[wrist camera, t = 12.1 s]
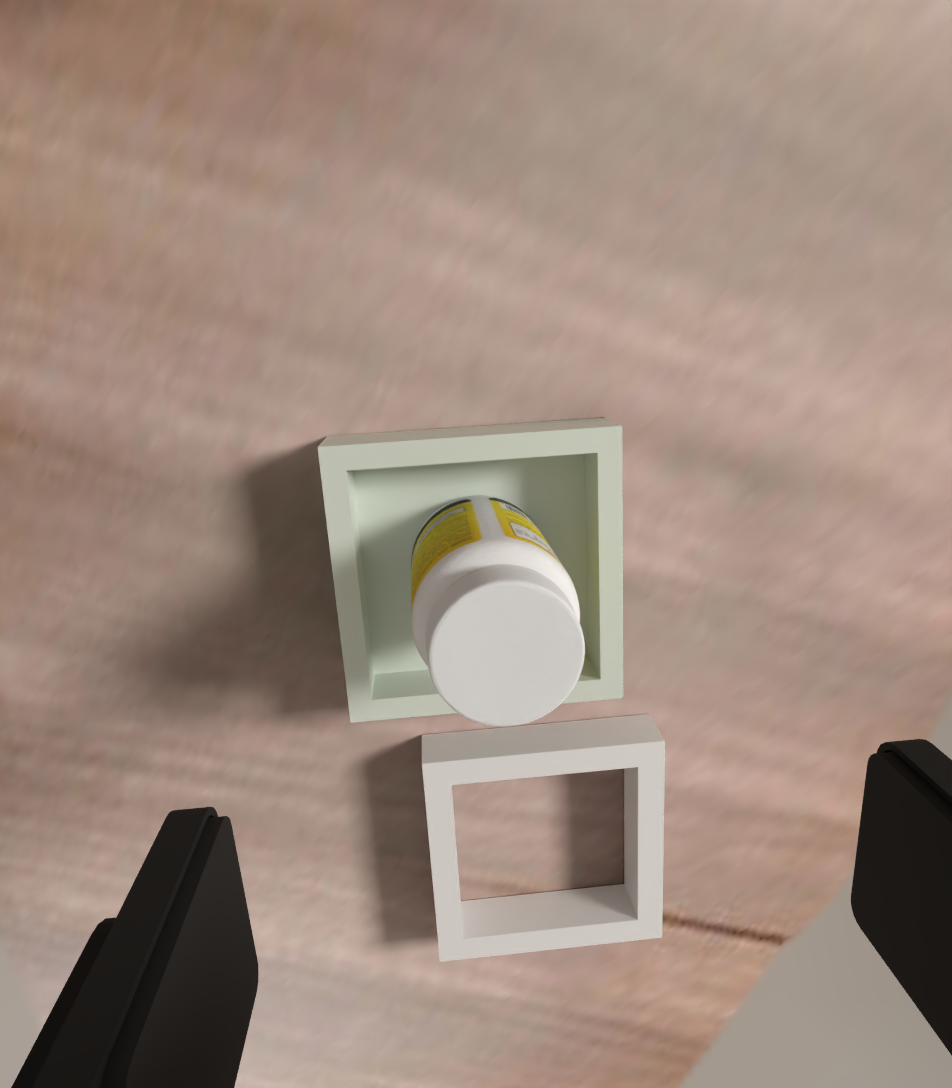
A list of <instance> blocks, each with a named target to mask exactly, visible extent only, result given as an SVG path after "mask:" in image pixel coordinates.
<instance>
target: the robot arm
mask: <svg viewBox="0 0 952 1088" xmlns="http://www.w3.org/2000/svg"><path fill="white" fill-rule="evenodd" d="M851 905H852V910H853V914H854V917H855V919H856V921H857V923H858V925H859V926H860V928H861V930H862V931H863V932H864V934H865V935H866V937H867V938H868V939H869V941H870V942H871V943H872V945H873V946H874V947H875V949H876V950H877V952H878V953H879V954H880V956H881V957H882V959H883V960H884V961H885V963H886V964H887V966H888V967H889V968H890V970H891V971H892V973H893V974H894V976H895V977H896V978H897V980H898V981H899V982H900V984H901V985H902V987H903V988H904V989H905V991H906V992H907V993H908V995H909V996H910V998H911V999H912V1001H913V1002H914V1003H915V1005H916V1006H917V1008H918V1009H919V1010H920V1011H921V1013H922V1014H923V1016H924V1017H925V1019H926V1020H927V1021H928V1023H929V1024H930V1026H931V1027H932V1028H933V1030H934V1031H935V1032H936V1034H937V1035H938V1037H939V1038H940V1039H941V1041H942V1042H943V1044H944V1045H945V1047H946V1048H947V1049H948V1051H949V1052H950V1053H951V1055H952V760H951V759H950V758H948V757H947V756H946V755H945V754H944V753H942V752H941V751H940V750H939V749H938V748H936V747H935V746H934V745H933V744H932V743H930V742H928V741H927V740H923V739H915V740H905V741H894V742H885V743H883V744H881V745H880V747H879V748H878V750H877V753H876V754H873V755H871V756H870V758H869V760H868V764H867V772H866V780H865V788H864V796H863V804H862V812H861V820H860V828H859V836H858V844H857V852H856V860H855V869H854V877H853V886H852V893H851ZM257 986H258V961H257V956H256V951H255V945H254V940H253V935H252V930H251V924H250V919H249V914H248V909H247V904H246V898H245V893H244V888H243V883H242V877H241V872H240V867H239V862H238V856H237V851H236V846H235V841H234V836H233V830H232V825H231V821H230V819H229V817H227V816H223V817H218V815H217V812H216V810H215V809H214V808H213V807H205V808H194V809H184V810H173V811H171V812H170V813H169V814H168V815H167V817H166V819H165V821H164V823H163V825H162V827H161V829H160V831H159V833H158V835H157V837H156V839H155V841H154V843H153V845H152V847H151V849H150V851H149V853H148V855H147V857H146V859H145V861H144V863H143V865H142V867H141V869H140V871H139V873H138V875H137V877H136V879H135V881H134V883H133V885H132V887H131V889H130V891H129V893H128V895H127V897H126V899H125V901H124V903H123V906H122V908H121V910H120V912H119V914H118V916H117V918H108V919H104V920H103V921H102V922H100V923H99V924H98V925H97V927H96V928H95V930H94V931H93V933H92V934H91V936H90V938H89V940H88V942H87V944H86V946H85V948H84V950H83V952H82V954H81V955H80V957H79V959H78V961H77V963H76V965H75V967H74V969H73V971H72V973H71V975H70V977H69V978H68V980H67V982H66V984H65V986H64V988H63V990H62V992H61V994H60V996H59V998H58V999H57V1001H56V1003H55V1005H54V1007H53V1009H52V1011H51V1013H50V1015H49V1017H48V1019H47V1021H46V1022H45V1024H44V1026H43V1028H42V1030H41V1032H40V1034H39V1036H38V1038H37V1040H36V1042H35V1043H34V1045H33V1047H32V1050H31V1051H30V1053H29V1055H28V1057H27V1059H26V1061H25V1063H24V1065H23V1066H22V1068H21V1070H20V1072H19V1074H18V1076H17V1078H16V1080H15V1082H14V1084H13V1086H12V1087H11V1088H234V1086H235V1082H236V1077H237V1073H238V1069H239V1065H240V1060H241V1056H242V1052H243V1048H244V1044H245V1039H246V1035H247V1031H248V1027H249V1022H250V1018H251V1014H252V1010H253V1005H254V1001H255V997H256V992H257Z"/></svg>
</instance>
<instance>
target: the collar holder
mask: <svg viewBox="0 0 952 1088" xmlns="http://www.w3.org/2000/svg"><path fill="white" fill-rule="evenodd" d="M623 768H624V884H619V885H610V886H600V887H591V888H581V889H572V890H562V891H553V892H543V893H534V894H524V895H515V896H505V897H496V898H486V899H477V900H467V901H461V900H460V887H459V874H458V862H457V849H456V836H455V824H454V811H453V798H452V786H451V785H457V784H467V783H478V782H488V781H498V780H509V779H519V778H530V777H540V776H551V775H561V774H571V773H582V772H592V771H603V770H613V769H623ZM664 769H665V740H664V739H663V737H662V735H661V734H660V732H659V730H658V729H657V727H656V725H655V724H654V722H653V720H652V719H651V717H650V715H649V714H644V715H633V716H622V717H611V718H601V719H590V720H579V721H568V722H557V723H546V724H535V725H524V726H514V727H503V728H492V729H481V730H470V731H459V732H448V733H438V734H427V735H422V770H423V781H424V792H425V803H426V814H427V825H428V836H429V847H430V858H431V869H432V880H433V891H434V902H435V913H436V924H437V935H438V946H439V957H440V962H443V961H452V960H461V959H470V958H479V957H488V956H497V955H507V954H516V953H525V952H534V951H543V950H552V949H561V948H571V947H580V946H589V945H598V944H607V943H616V942H625V941H635V940H644V939H653V938H662V907H663V838H664Z"/></svg>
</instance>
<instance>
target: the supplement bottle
mask: <svg viewBox="0 0 952 1088" xmlns="http://www.w3.org/2000/svg"><path fill="white" fill-rule="evenodd" d="M411 625H412V633H413V637H414V641H415V644H416V647H417V650H418V652H419V654H420V656H421V658H422V659H423V661H424V662H425V664H426V665H427V667H428V668H429V672H430V676H431V679H432V681H433V684H434V686H435V688H436V690H437V691H438V693H439V694H440V696H441V697H442V698H443V700H444V701H445V702H446V703H447V704H448V705H449V706H450V707H451V708H452V709H453V710H455V711H456V712H457V713H459V714H460V715H462V716H464V717H466V718H467V719H470V720H472V721H475V722H477V723H481V724H485V725H490V726H516V725H521V724H525V723H528V722H531V721H534V720H537V719H539V718H541V717H543V716H545V715H546V714H548V713H550V712H551V711H552V710H554V709H555V708H556V707H558V706H559V705H560V704H561V703H562V702H563V701H564V700H565V699H566V698H567V697H568V695H569V694H570V693H571V691H572V690H573V688H574V686H575V685H576V683H577V681H578V679H579V677H580V674H581V671H582V667H583V663H584V656H585V642H584V636H583V632H582V628H581V626H580V608H579V601H578V596H577V593H576V590H575V587H574V585H573V582H572V580H571V578H570V576H569V575H568V573H567V571H566V570H565V568H564V567H563V565H562V564H561V562H560V561H559V559H558V558H557V556H556V555H555V553H554V552H553V550H552V549H551V547H550V546H549V544H548V543H547V541H546V540H545V538H544V537H543V535H542V534H541V532H540V531H539V529H538V527H537V526H536V524H535V523H534V521H533V520H532V519H531V518H530V517H529V516H528V515H527V514H526V513H525V512H524V511H523V510H522V509H520V508H519V507H518V506H516V505H514V504H513V503H511V502H509V501H507V500H504V499H501V498H498V497H494V496H487V495H474V496H468V497H463V498H459V499H456V500H453V501H451V502H449V503H447V504H445V505H443V506H442V507H440V508H439V509H437V510H436V511H435V512H434V513H432V514H431V515H430V517H429V518H428V519H427V520H426V521H425V522H424V524H423V525H422V527H421V528H420V530H419V532H418V534H417V536H416V539H415V542H414V545H413V549H412V557H411Z"/></svg>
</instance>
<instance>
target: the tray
mask: <svg viewBox="0 0 952 1088" xmlns="http://www.w3.org/2000/svg"><path fill="white" fill-rule="evenodd" d="M318 455H319V464H320V472H321V480H322V489H323V497H324V505H325V514H326V522H327V530H328V539H329V547H330V555H331V564H332V572H333V580H334V589H335V597H336V605H337V614H338V622H339V630H340V639H341V647H342V655H343V664H344V672H345V680H346V689H347V697H348V705H349V714H350V722H351V723H353V722H364V721H375V720H386V719H397V718H408V717H419V716H430V715H441V714H452V713H457V712H456V711H455V710H453V709H452V708H451V707H450V706H449V705H448V704H447V703H446V702H445V701H444V700H443V698H442V697H441V696H440V694H439V693H438V691H437V690H436V688H435V686H434V684H433V681H432V679H431V676H430V672H429V668H428V667H427V665H426V664H425V662H424V661H423V659H422V658H421V656H420V654H419V652H418V650H417V647H416V644H415V641H414V637H413V633H412V625H411V557H412V549H413V545H414V542H415V539H416V536H417V534H418V532H419V530H420V528H421V527H422V525H423V524H424V522H425V521H426V520H427V519H428V518H429V517H430V515H431V514H432V513H434V512H435V511H436V510H437V509H439V508H440V507H442V506H443V505H445V504H447V503H449V502H451V501H453V500H456V499H459V498H463V497H468V496H474V495H487V496H494V497H498V498H501V499H504V500H507V501H509V502H511V503H513V504H514V505H516V506H518V507H519V508H520V509H522V510H523V511H524V512H525V513H526V514H527V515H528V516H529V517H530V518H531V519H532V520H533V521H534V523H535V524H536V526H537V527H538V529H539V531H540V532H541V534H542V535H543V537H544V538H545V540H546V541H547V543H548V544H549V546H550V547H551V549H552V550H553V552H554V553H555V555H556V556H557V558H558V559H559V561H560V562H561V564H562V565H563V567H564V568H565V570H566V571H567V573H568V575H569V576H570V578H571V580H572V582H573V585H574V587H575V590H576V593H577V596H578V601H579V608H580V626H581V628H582V632H583V636H584V642H585V656H584V663H583V667H582V671H581V674H580V677H579V679H578V681H577V683H576V685H575V686H574V688H573V690H572V691H571V693H570V694H569V695H568V697H567V698H566V699H565V700H564V701H563V702H562V703H573V702H584V701H595V700H606V699H617V698H623V507H622V426H621V425H619V424H617V423H615V422H613V421H610V420H608V419H606V418H604V417H600V418H585V419H571V420H556V421H542V422H527V423H513V424H498V425H484V426H469V427H455V428H440V429H426V430H411V431H397V432H382V433H368V434H353V435H339V436H327V437H326V438H325V439H324V440H323V442H322V443H321V444H320V445H319V446H318ZM562 703H561V704H562Z"/></svg>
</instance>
